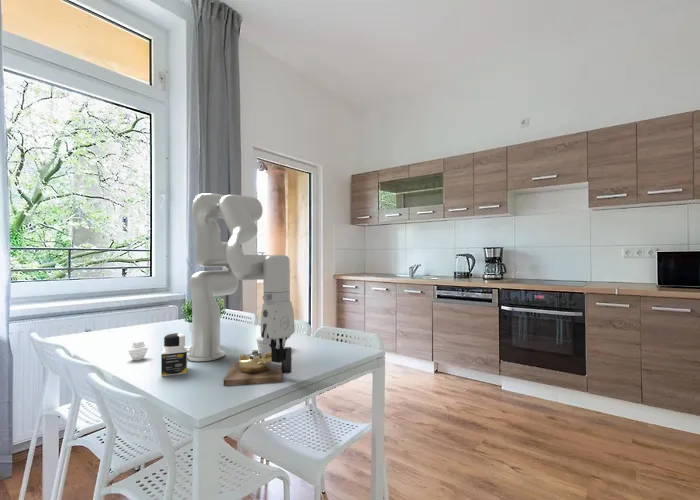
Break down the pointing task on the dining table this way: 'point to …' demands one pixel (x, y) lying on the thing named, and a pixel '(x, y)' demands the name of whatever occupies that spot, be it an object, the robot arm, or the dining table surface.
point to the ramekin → (262, 345)
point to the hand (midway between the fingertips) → (277, 361)
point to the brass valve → (265, 362)
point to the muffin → (138, 350)
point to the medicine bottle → (174, 355)
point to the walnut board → (251, 376)
